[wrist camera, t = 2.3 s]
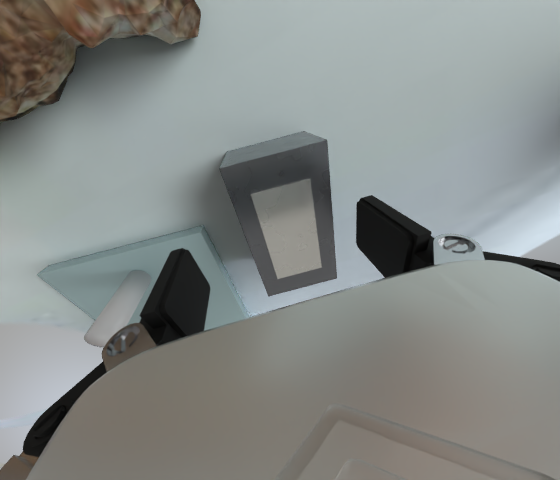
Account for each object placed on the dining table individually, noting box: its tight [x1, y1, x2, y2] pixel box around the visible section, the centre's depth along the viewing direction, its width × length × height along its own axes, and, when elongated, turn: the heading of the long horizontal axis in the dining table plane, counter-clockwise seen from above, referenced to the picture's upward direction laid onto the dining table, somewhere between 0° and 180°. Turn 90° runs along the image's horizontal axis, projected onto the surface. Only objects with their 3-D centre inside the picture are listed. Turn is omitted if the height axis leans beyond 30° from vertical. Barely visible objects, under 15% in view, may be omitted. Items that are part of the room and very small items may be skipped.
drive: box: [219, 131, 337, 296], centre depth 13 cm, size 5×9×5 cm, turn 13°
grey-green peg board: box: [37, 226, 249, 347], centre depth 17 cm, size 12×18×6 cm, turn 13°
